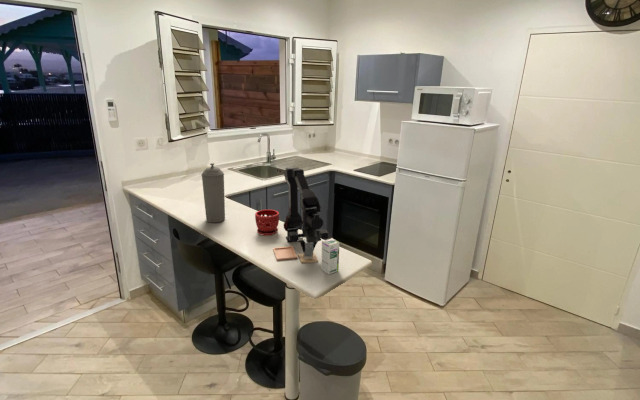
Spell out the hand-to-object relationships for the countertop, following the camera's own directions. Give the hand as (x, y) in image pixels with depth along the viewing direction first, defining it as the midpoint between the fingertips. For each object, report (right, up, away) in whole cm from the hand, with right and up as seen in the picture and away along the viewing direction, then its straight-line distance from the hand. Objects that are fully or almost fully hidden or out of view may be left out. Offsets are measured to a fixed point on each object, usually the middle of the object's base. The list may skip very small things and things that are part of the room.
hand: (308, 251), depth 168 cm
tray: (-12, -2, +5) cm, 13 cm away
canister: (-58, +13, +45) cm, 74 cm away
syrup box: (+10, -7, -9) cm, 15 cm away
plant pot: (-24, +6, +29) cm, 38 cm away
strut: (0, -1, 0) cm, 1 cm away
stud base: (0, -4, +1) cm, 4 cm away
